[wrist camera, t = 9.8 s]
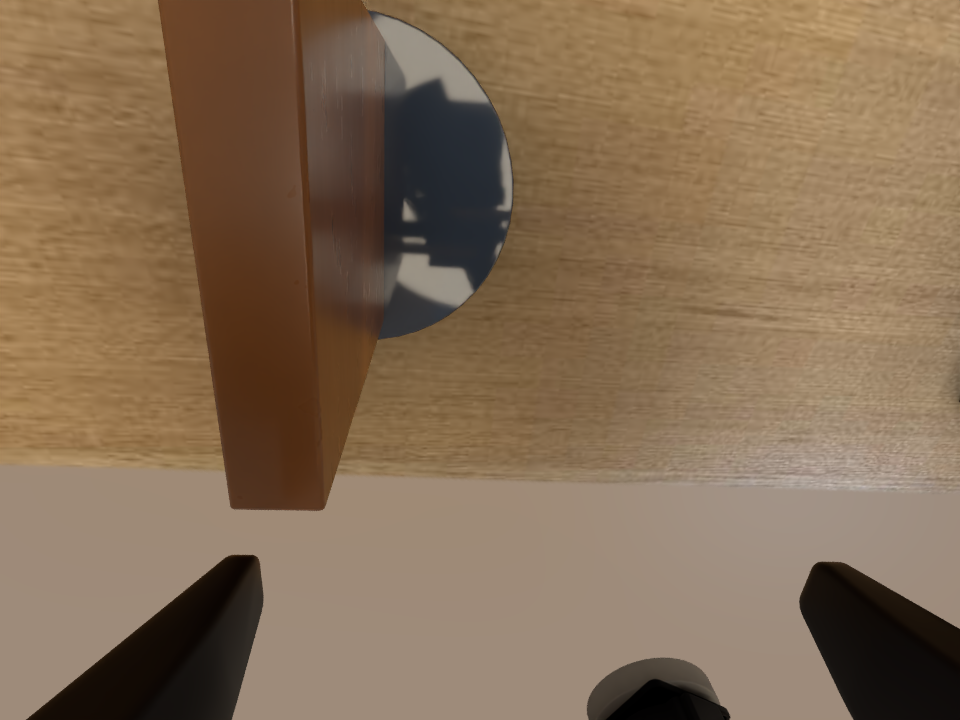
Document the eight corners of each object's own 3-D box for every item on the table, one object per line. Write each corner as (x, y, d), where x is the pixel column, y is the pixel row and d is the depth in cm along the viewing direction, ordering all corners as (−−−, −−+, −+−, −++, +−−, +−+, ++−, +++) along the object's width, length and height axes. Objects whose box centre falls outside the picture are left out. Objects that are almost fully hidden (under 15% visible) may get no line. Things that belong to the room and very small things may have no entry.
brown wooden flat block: (337, 319, 18) (228, 511, 9) (328, 32, 14) (133, -147, 5) (383, 322, 18) (324, 513, 9) (385, 38, 15) (291, -126, 5)
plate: (414, 373, 20) (413, 387, 19) (161, 234, 17) (143, 240, 16) (567, 145, 17) (575, 146, 16) (290, -66, 14) (278, -83, 13)
